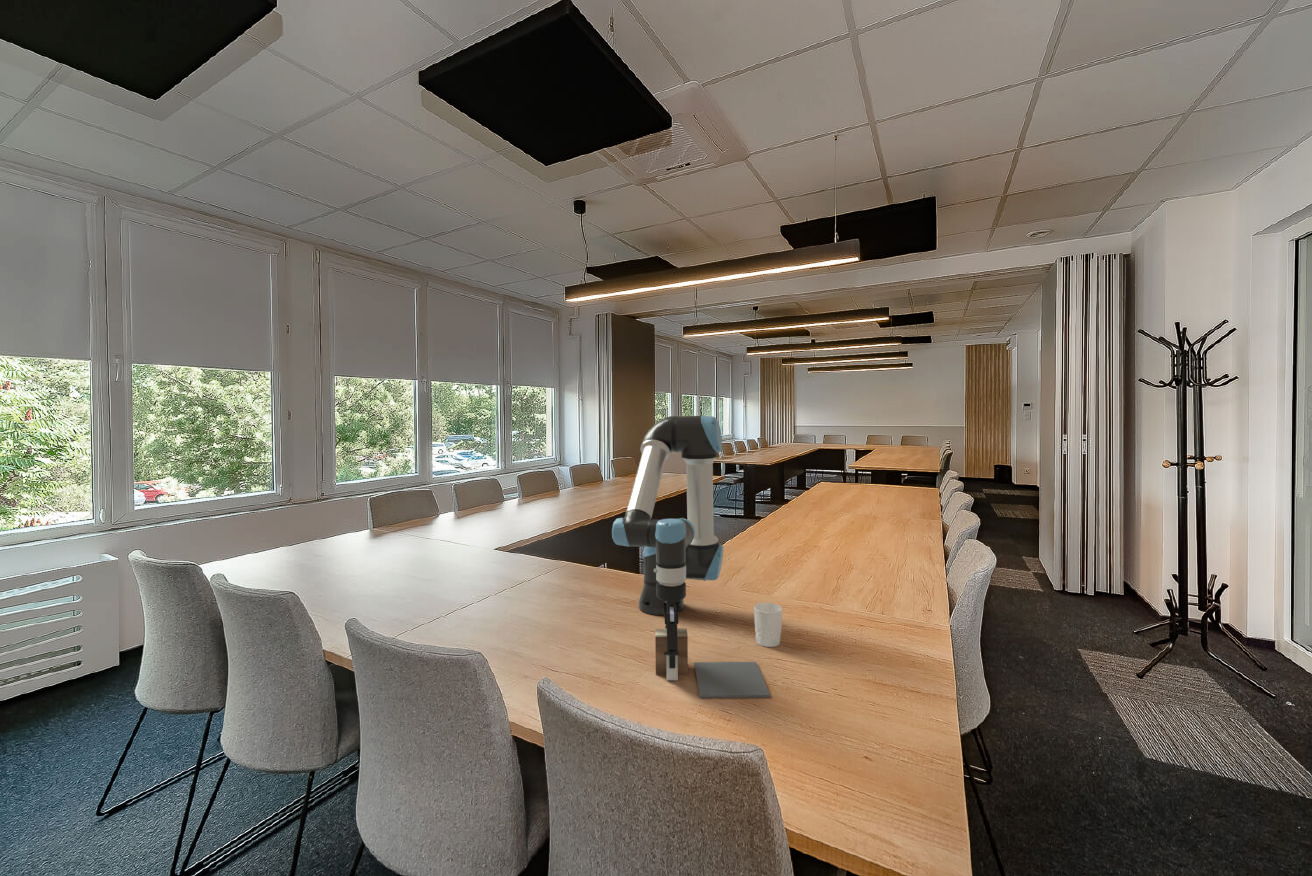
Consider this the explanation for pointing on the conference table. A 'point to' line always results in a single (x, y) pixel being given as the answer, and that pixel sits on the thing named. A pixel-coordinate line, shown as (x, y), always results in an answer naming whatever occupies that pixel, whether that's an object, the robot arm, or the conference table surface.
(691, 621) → the conference table surface
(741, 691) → the rubber mat
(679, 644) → the walnut slab
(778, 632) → the white cup
